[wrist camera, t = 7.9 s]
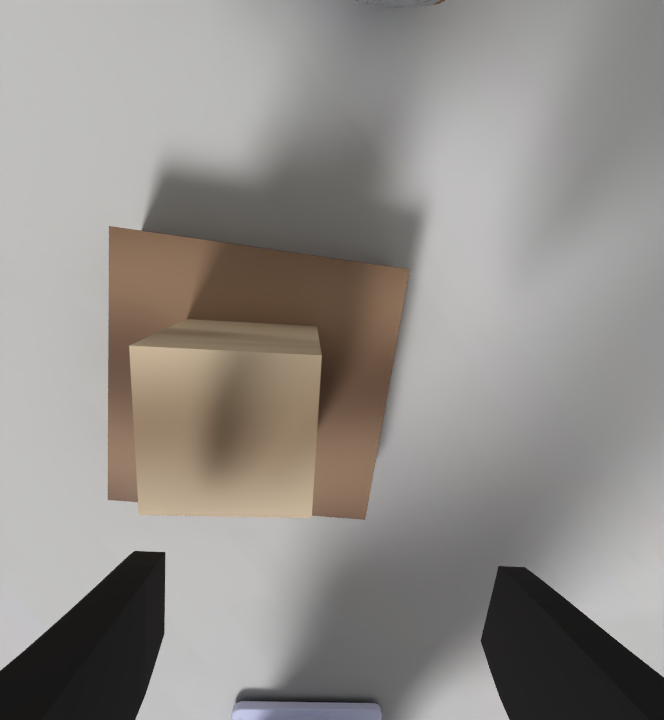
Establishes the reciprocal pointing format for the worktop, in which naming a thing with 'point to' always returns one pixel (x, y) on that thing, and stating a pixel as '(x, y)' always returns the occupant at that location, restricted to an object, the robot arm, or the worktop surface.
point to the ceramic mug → (403, 2)
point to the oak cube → (226, 419)
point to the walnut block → (271, 306)
